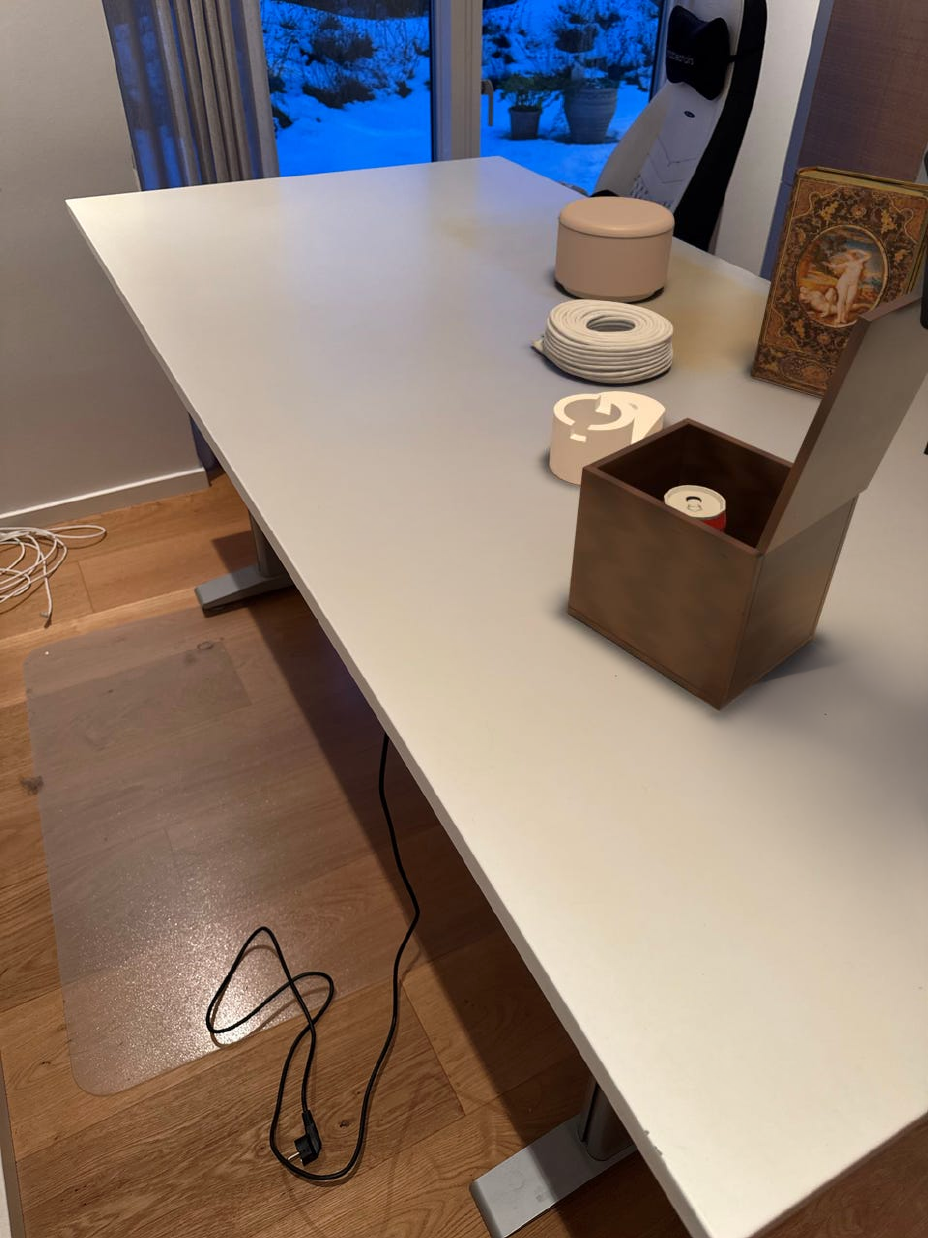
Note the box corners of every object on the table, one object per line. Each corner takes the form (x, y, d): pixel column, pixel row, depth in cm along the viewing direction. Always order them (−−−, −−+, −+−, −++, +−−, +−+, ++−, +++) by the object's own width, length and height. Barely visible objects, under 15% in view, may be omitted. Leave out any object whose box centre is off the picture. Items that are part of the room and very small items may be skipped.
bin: (566, 612, 83) (581, 467, 74) (662, 556, 90) (687, 417, 81) (719, 710, 73) (758, 557, 64) (813, 638, 80) (860, 491, 71)
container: (532, 288, 148) (536, 211, 141) (590, 260, 160) (596, 188, 152) (630, 314, 140) (640, 234, 133) (684, 283, 151) (696, 207, 144)
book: (745, 375, 123) (788, 172, 108) (763, 362, 127) (807, 164, 111) (866, 411, 115) (932, 198, 100) (882, 397, 118) (948, 188, 103)
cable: (524, 343, 131) (526, 300, 127) (635, 329, 135) (640, 288, 131) (573, 394, 118) (577, 349, 114) (694, 378, 122) (702, 333, 119)
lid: (858, 315, 52) (870, 321, 51) (970, 264, 59) (981, 269, 58) (755, 549, 64) (764, 555, 64) (857, 483, 71) (866, 489, 71)
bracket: (610, 493, 99) (617, 437, 95) (536, 473, 102) (540, 418, 98) (669, 419, 113) (678, 367, 109) (602, 403, 116) (608, 352, 112)
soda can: (707, 637, 79) (735, 518, 72) (643, 632, 79) (663, 514, 72) (700, 598, 83) (726, 482, 76) (639, 594, 84) (658, 478, 76)
